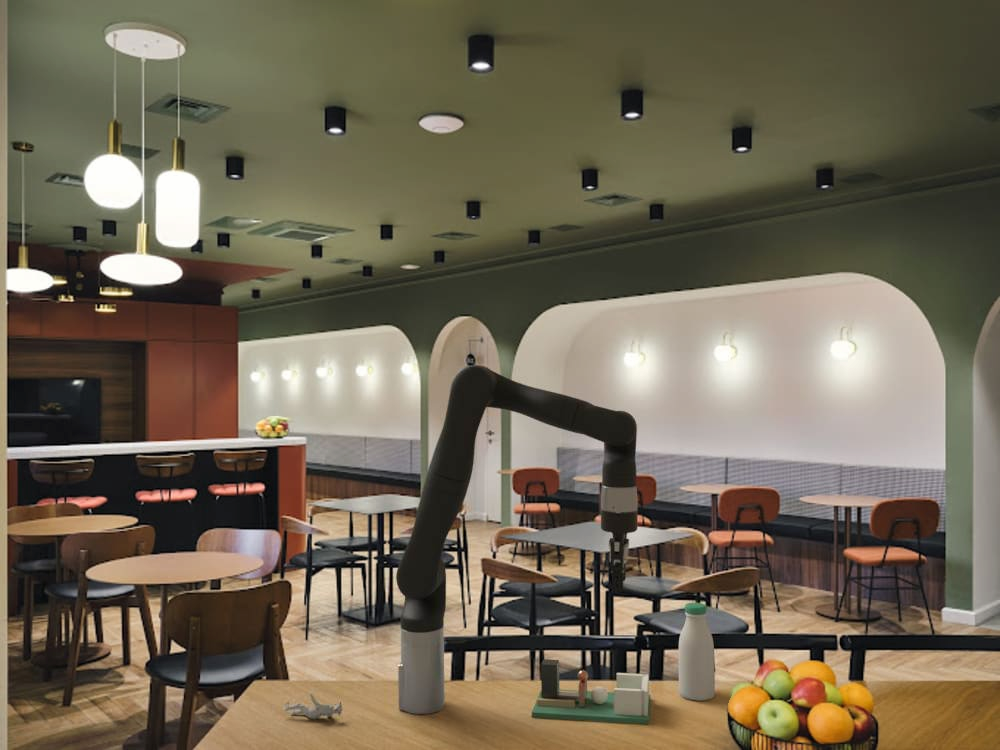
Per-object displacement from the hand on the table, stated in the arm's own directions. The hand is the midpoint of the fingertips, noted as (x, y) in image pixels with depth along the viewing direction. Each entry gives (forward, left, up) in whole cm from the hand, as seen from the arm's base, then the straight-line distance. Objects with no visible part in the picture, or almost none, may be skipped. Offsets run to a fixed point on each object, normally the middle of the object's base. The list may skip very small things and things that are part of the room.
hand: (618, 585), depth 181 cm
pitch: (-6, +4, -27) cm, 28 cm away
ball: (-5, +4, -25) cm, 25 cm away
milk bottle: (+16, +15, -28) cm, 35 cm away
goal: (+2, +4, -26) cm, 27 cm away
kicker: (-12, +4, -26) cm, 29 cm away
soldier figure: (-63, -10, -28) cm, 70 cm away
